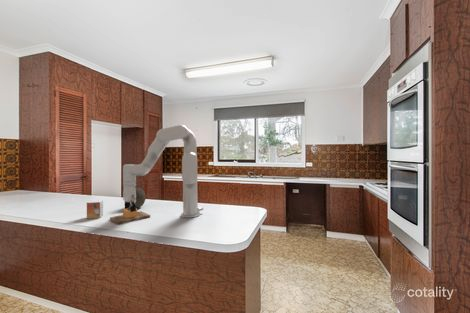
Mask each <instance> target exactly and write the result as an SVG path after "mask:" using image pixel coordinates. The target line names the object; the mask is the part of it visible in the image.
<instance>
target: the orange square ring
mask: <svg viewBox="0 0 470 313" xmlns="http://www.w3.org/2000/svg"><path fill="white" fill-rule="evenodd" d="M137 212H138V208H136V211H134V212H130V210H129V211H128V209H125V208H124V209H122V215H123V217H125V218H131V217H136V216H138V214H137Z"/></svg>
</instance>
